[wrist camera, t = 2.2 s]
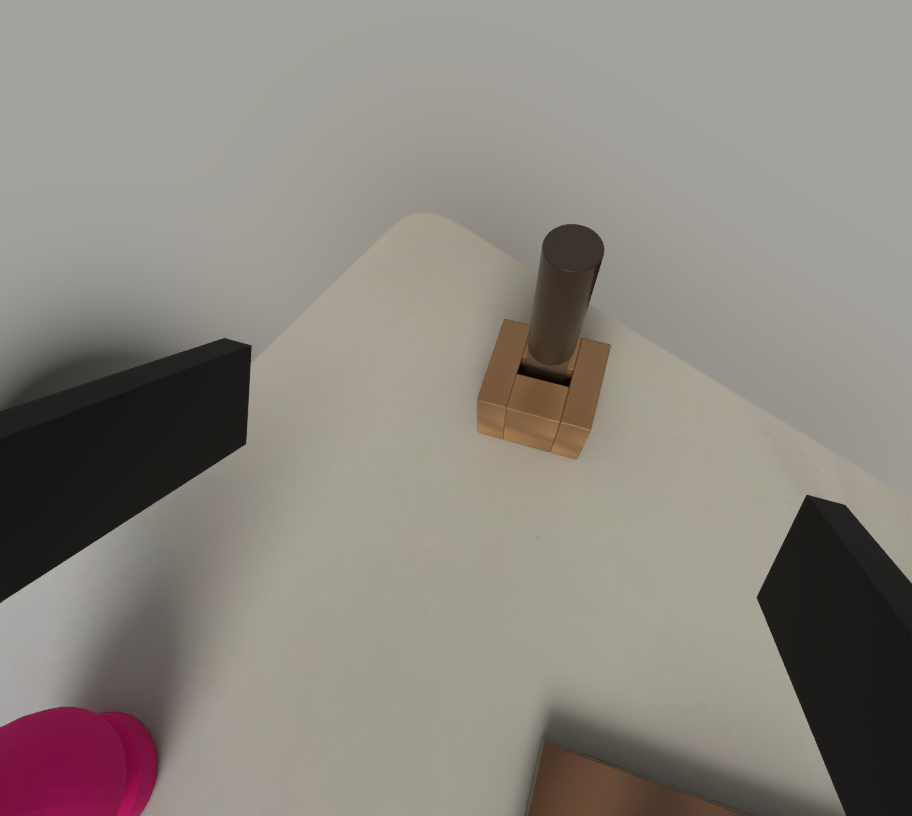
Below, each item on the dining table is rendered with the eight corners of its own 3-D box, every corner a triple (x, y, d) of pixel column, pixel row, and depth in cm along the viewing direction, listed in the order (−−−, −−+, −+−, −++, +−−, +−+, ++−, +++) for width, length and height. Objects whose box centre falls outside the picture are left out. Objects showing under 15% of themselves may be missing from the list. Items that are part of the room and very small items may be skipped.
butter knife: (560, 395, 38) (609, 230, 24) (551, 428, 37) (597, 277, 23) (523, 385, 39) (550, 217, 24) (513, 418, 38) (536, 263, 23)
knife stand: (595, 381, 39) (611, 344, 34) (576, 460, 36) (590, 430, 32) (501, 357, 40) (504, 318, 35) (477, 432, 37) (476, 400, 33)
